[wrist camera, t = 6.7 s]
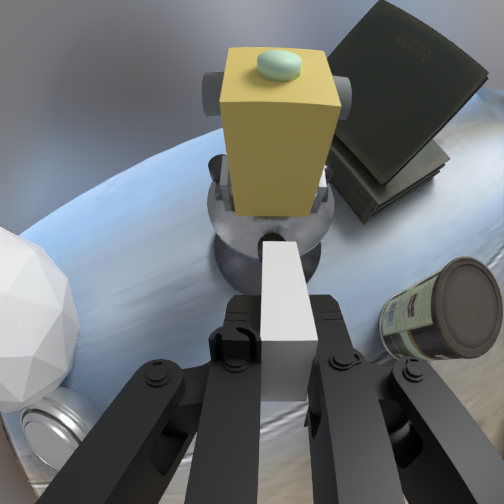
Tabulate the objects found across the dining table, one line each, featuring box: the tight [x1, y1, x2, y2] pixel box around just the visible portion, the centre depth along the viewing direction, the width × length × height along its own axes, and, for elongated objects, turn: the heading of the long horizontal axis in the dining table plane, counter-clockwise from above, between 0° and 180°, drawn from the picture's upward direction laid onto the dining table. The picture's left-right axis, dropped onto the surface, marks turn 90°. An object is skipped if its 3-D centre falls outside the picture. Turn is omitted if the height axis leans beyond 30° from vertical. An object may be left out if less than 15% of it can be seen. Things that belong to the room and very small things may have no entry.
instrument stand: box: [207, 154, 335, 295], centre depth 31 cm, size 14×14×17 cm
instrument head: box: [202, 47, 352, 217], centre depth 19 cm, size 6×9×13 cm, turn 88°
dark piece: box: [327, 0, 489, 224], centre depth 34 cm, size 23×20×25 cm
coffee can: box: [379, 257, 503, 361], centre depth 28 cm, size 10×10×14 cm
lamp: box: [0, 227, 102, 471], centre depth 25 cm, size 22×34×24 cm, turn 29°
